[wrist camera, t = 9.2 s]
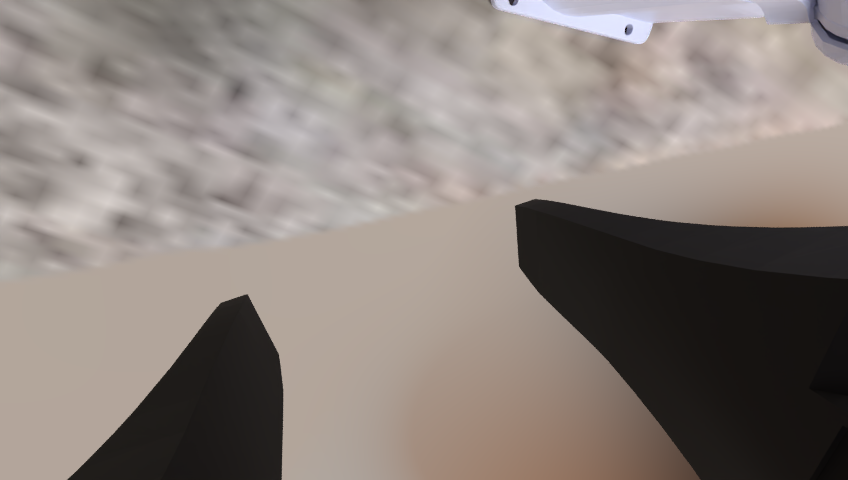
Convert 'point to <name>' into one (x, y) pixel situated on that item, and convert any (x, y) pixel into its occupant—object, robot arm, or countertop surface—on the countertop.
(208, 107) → the countertop surface
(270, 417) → the robot arm
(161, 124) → the countertop surface
